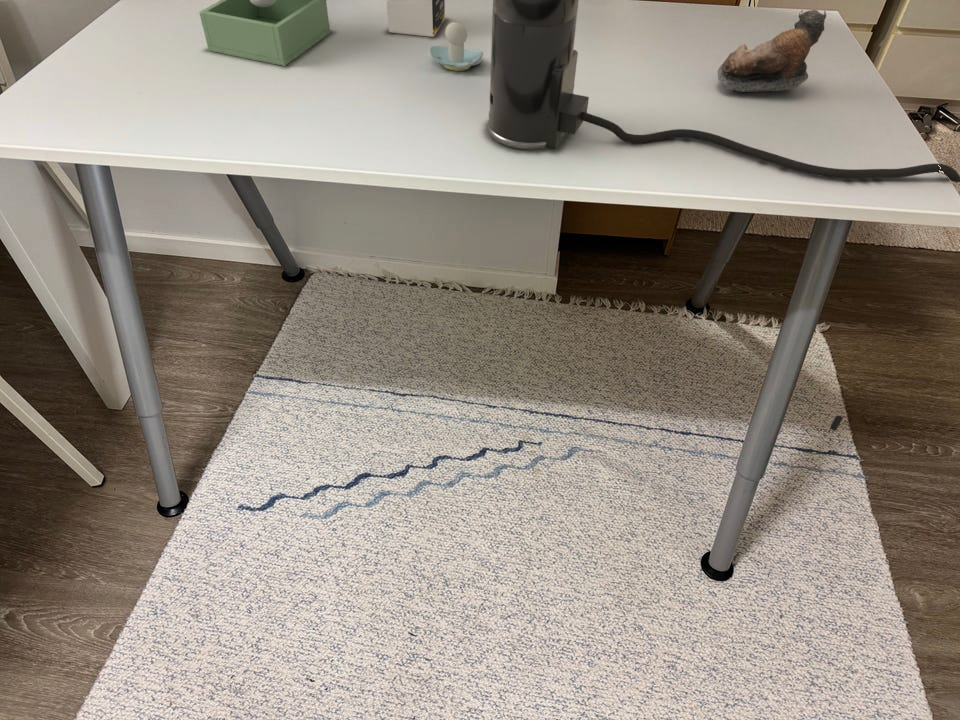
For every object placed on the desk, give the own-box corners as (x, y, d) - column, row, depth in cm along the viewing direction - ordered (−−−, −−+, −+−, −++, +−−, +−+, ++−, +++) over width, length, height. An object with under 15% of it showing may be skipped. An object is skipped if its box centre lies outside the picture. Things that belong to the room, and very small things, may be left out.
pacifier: (437, 54, 105) (427, 70, 100) (437, 8, 100) (426, 23, 96) (487, 59, 104) (479, 76, 99) (489, 13, 99) (480, 29, 95)
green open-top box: (330, 33, 109) (325, -5, 105) (284, 66, 101) (277, 27, 97) (258, 19, 112) (251, -18, 108) (208, 50, 104) (198, 11, 100)
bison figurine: (721, 100, 96) (743, 21, 89) (707, 76, 101) (726, 0, 94) (810, 100, 97) (838, 21, 89) (792, 76, 102) (817, 0, 94)
